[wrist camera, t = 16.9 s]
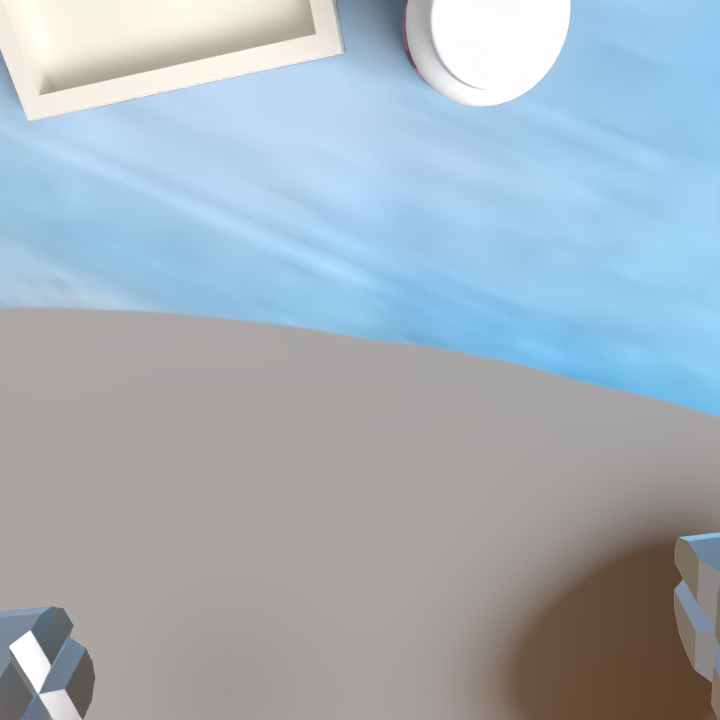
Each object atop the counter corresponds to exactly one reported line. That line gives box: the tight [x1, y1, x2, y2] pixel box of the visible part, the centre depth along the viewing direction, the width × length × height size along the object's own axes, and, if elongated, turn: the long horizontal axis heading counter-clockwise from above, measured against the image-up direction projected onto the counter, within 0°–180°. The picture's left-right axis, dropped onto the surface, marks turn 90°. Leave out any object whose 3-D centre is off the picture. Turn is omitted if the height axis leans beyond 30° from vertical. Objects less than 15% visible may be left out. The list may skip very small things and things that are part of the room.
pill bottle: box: [402, 0, 570, 106], centre depth 26 cm, size 6×6×11 cm
